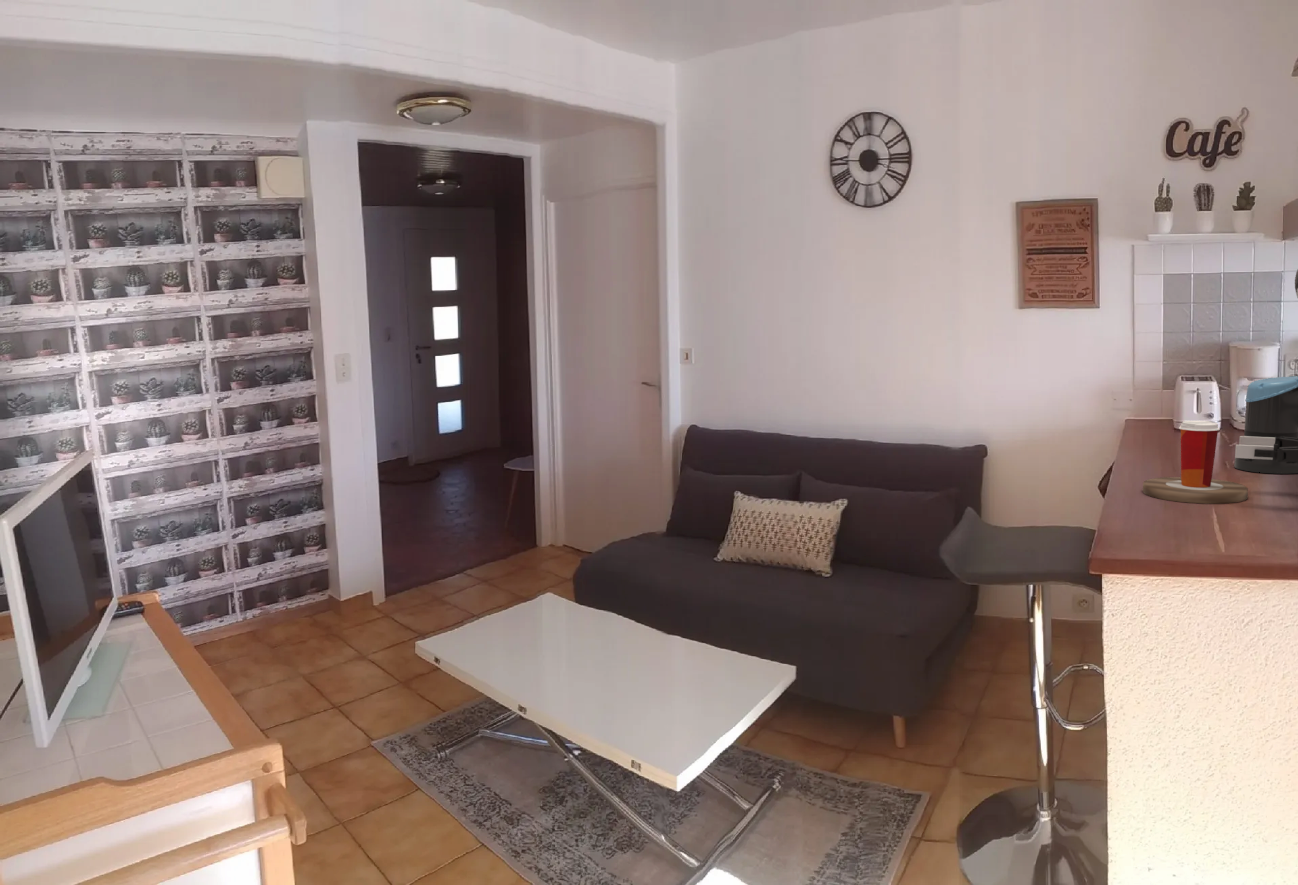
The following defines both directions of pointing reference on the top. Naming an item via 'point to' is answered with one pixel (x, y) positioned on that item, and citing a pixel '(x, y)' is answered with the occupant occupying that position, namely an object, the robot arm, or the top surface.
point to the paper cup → (1197, 452)
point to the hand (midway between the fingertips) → (1237, 446)
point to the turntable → (1195, 491)
